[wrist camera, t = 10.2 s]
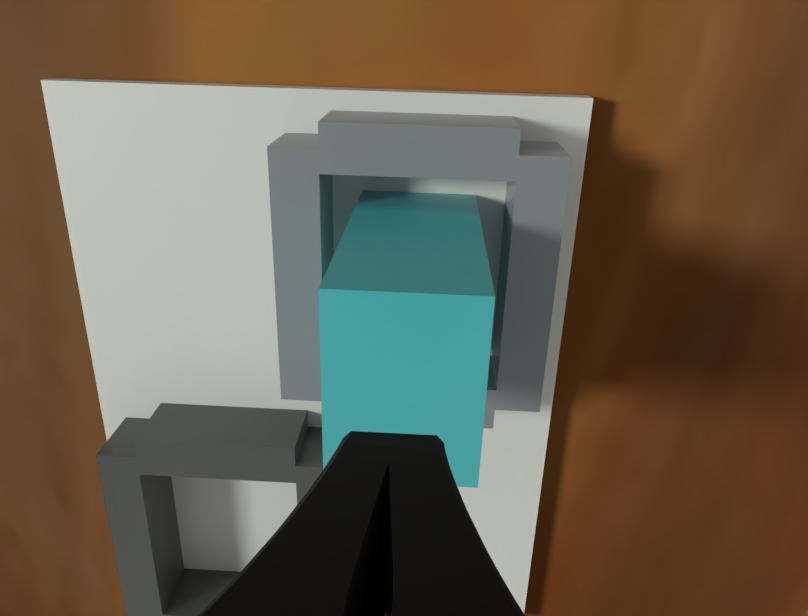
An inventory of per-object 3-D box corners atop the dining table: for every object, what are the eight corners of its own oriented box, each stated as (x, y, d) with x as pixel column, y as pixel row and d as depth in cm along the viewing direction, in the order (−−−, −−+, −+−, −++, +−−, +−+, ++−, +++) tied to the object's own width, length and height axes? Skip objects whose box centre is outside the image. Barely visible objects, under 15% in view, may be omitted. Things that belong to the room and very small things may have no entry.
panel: (521, 610, 24) (529, 674, 22) (142, 587, 25) (111, 648, 22) (588, 95, 17) (612, 108, 15) (53, 78, 18) (-8, 87, 15)
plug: (465, 330, 19) (478, 487, 13) (362, 325, 19) (323, 479, 13) (475, 194, 18) (495, 296, 11) (362, 190, 18) (318, 288, 11)
